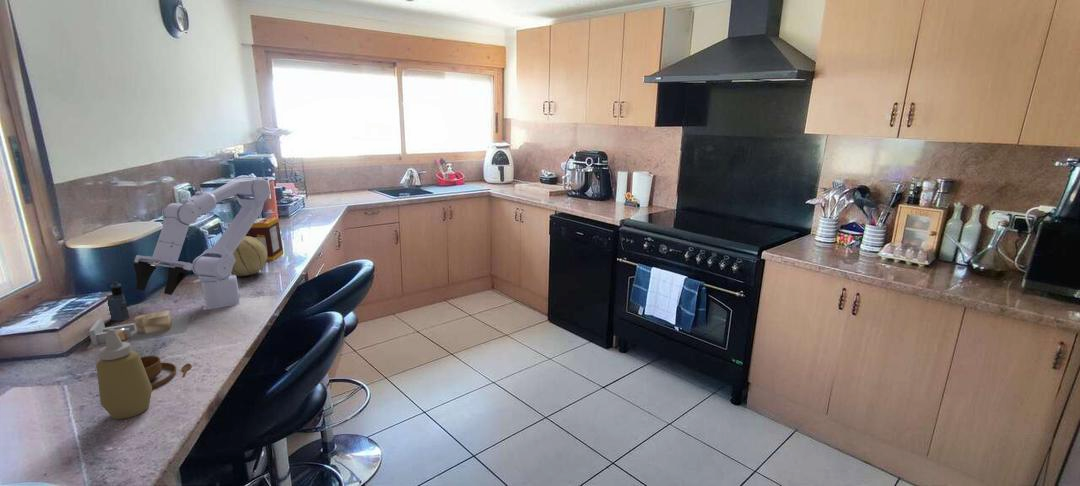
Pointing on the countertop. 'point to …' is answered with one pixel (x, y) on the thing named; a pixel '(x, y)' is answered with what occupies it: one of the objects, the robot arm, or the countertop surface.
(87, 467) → the countertop surface
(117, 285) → the vaping device
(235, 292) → the robot arm
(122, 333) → the plunger
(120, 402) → the squeeze bottle
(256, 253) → the cantaloupe
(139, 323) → the peg
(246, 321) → the countertop surface
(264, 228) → the supplement box
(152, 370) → the place setting
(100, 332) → the socket board
